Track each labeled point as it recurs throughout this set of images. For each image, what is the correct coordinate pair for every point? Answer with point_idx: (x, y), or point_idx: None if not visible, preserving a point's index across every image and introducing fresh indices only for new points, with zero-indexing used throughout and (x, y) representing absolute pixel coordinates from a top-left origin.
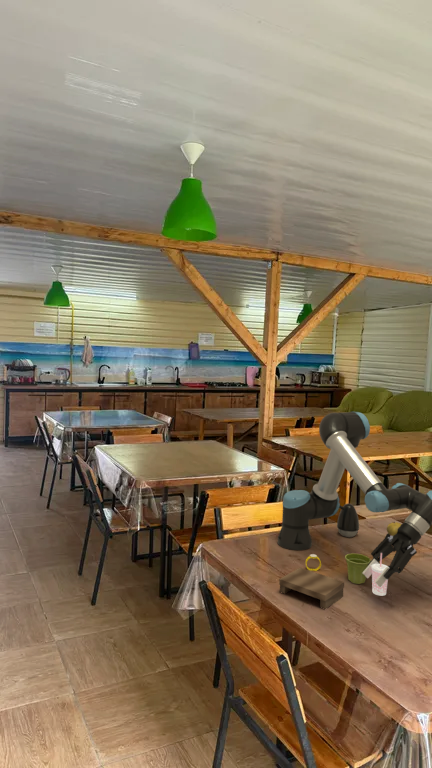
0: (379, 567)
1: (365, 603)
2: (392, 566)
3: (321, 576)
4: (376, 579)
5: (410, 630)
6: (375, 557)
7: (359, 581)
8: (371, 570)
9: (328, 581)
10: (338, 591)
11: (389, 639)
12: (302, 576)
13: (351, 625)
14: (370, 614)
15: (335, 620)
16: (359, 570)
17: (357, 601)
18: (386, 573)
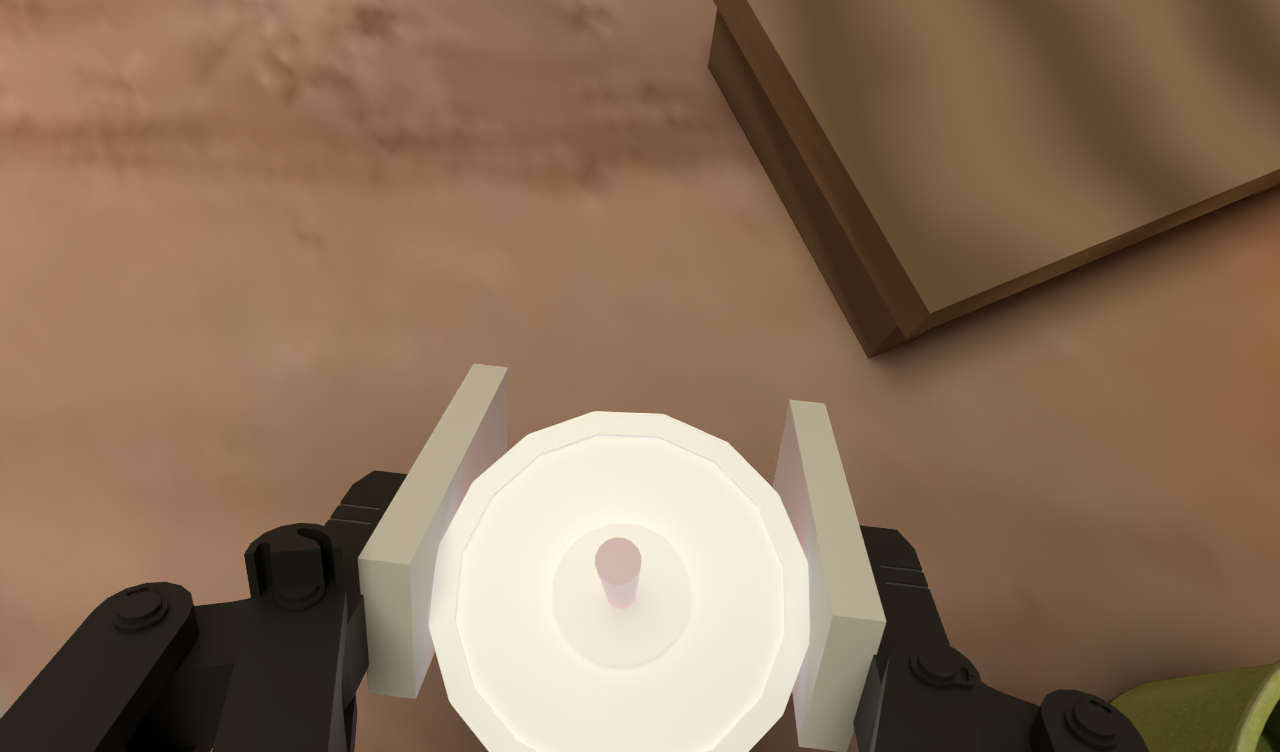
0: (594, 532)
1: None
2: (248, 614)
3: (1134, 170)
4: (492, 385)
5: (56, 479)
6: (891, 664)
7: None
8: None
9: (994, 161)
10: (840, 222)
11: (86, 201)
12: (1178, 4)
13: (408, 87)
14: (467, 350)
15: (530, 32)
16: (1187, 745)
17: (726, 417)
18: (381, 517)
